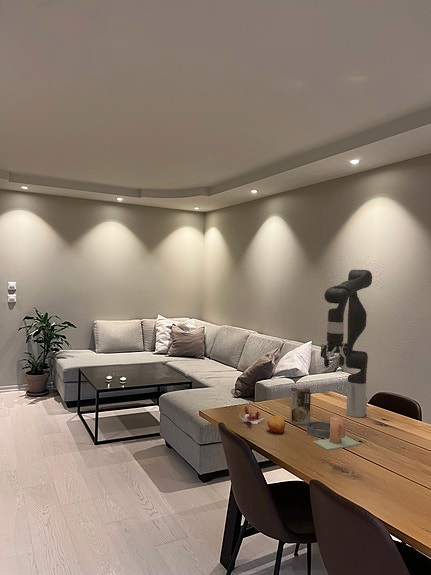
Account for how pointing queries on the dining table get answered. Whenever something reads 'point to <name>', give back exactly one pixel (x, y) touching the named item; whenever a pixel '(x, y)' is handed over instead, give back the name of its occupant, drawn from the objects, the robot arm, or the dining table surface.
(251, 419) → the figurine
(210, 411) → the dining table surface
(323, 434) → the holder
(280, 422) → the fruit
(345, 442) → the mat
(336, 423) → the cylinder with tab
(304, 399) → the coffee box
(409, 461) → the dining table surface
